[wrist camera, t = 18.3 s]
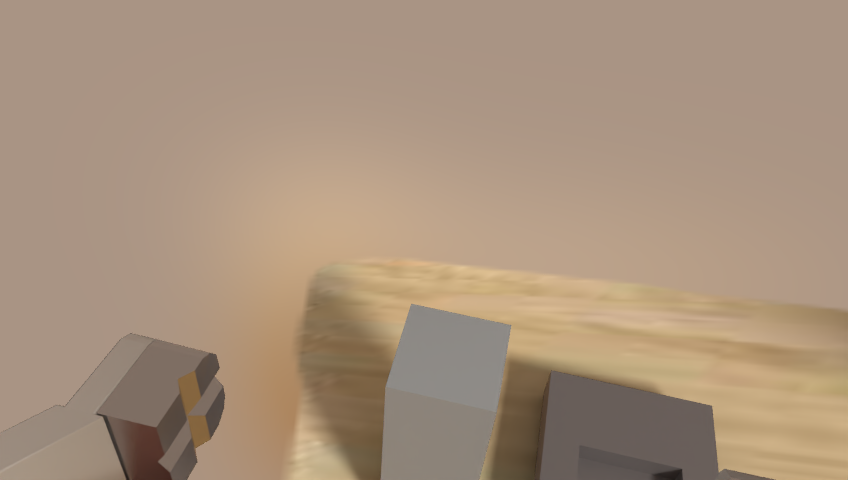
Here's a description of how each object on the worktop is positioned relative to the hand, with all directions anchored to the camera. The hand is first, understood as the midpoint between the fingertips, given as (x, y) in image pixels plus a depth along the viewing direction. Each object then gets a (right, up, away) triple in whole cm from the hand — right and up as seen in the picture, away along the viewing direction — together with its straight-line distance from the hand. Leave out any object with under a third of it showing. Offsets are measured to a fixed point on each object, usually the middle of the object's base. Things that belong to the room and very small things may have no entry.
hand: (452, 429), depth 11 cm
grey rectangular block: (0, -10, +25) cm, 27 cm away
